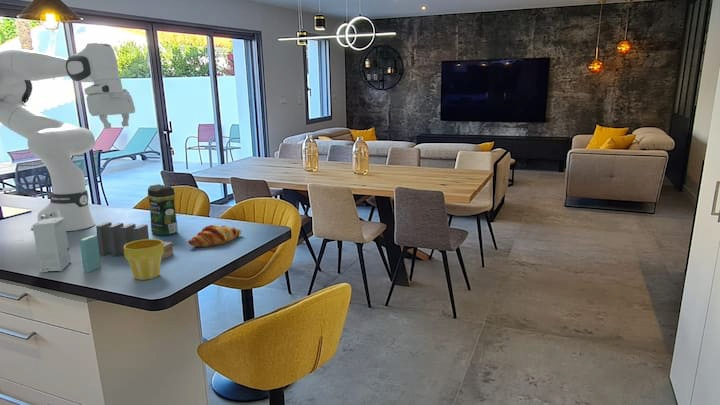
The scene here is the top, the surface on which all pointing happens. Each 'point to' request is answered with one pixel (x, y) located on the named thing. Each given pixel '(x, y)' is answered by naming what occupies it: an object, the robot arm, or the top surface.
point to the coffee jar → (162, 210)
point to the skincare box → (51, 244)
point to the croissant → (214, 236)
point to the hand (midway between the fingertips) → (117, 127)
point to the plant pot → (144, 257)
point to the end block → (167, 250)
